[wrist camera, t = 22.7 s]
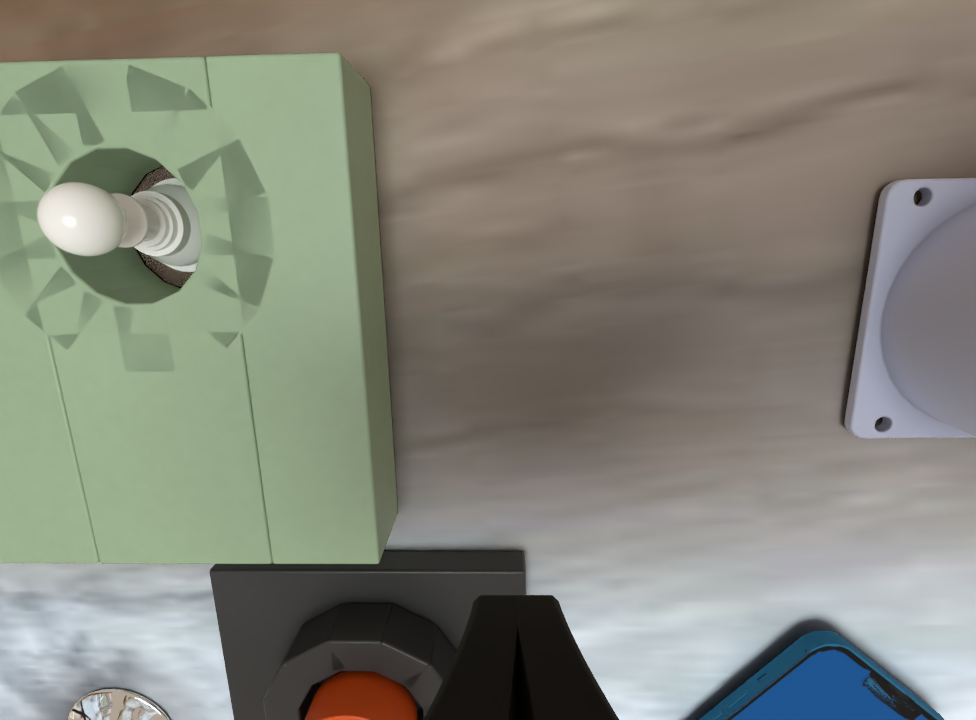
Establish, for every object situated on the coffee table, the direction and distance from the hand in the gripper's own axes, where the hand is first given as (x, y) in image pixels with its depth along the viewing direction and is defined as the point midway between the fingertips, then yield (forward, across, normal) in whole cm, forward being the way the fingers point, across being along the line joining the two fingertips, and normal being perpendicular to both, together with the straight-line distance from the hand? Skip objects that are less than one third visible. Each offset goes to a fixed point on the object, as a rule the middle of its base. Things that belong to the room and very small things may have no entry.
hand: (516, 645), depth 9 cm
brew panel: (+9, +5, +9) cm, 14 cm away
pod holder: (+9, +10, -4) cm, 14 cm away
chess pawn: (+10, +10, -7) cm, 16 cm away
